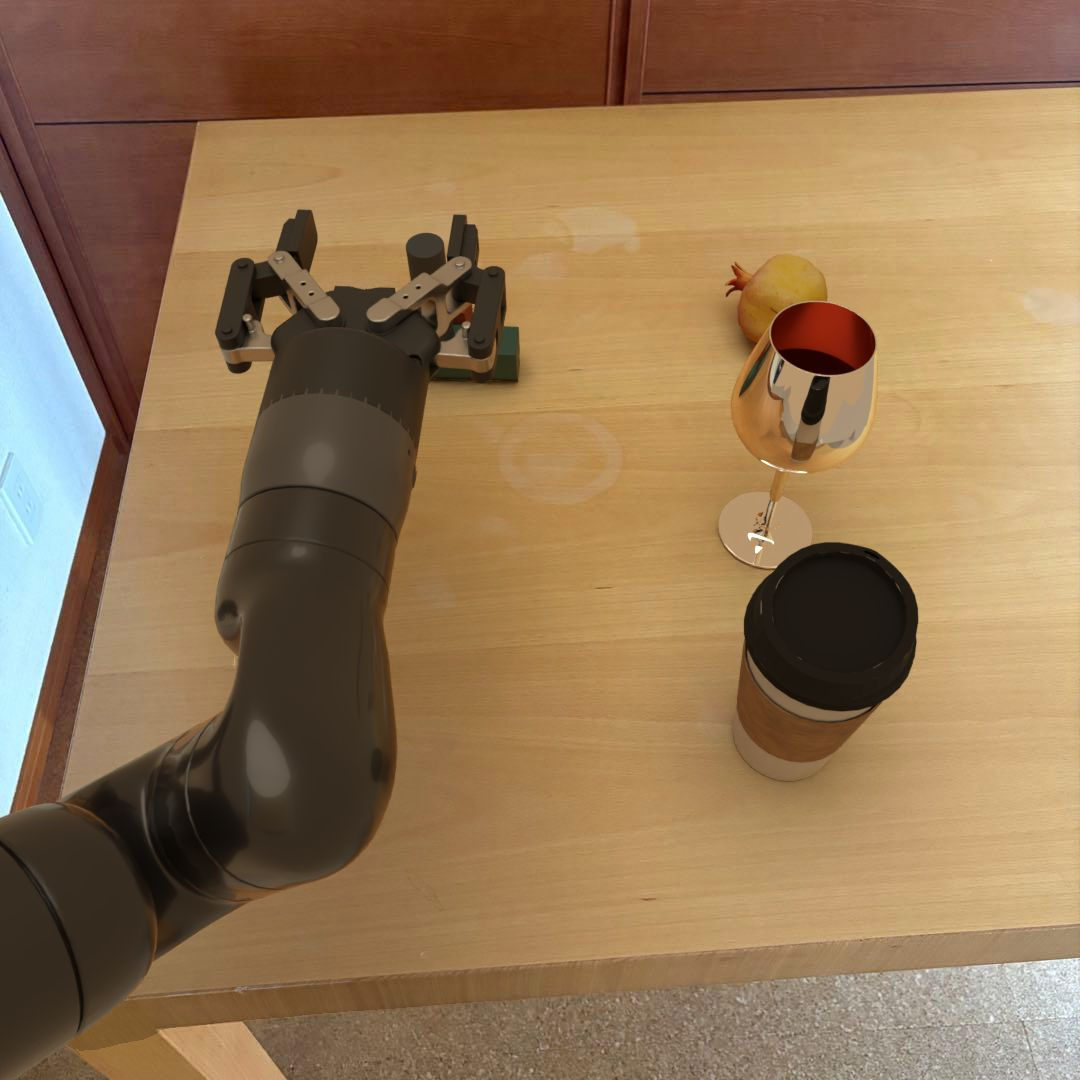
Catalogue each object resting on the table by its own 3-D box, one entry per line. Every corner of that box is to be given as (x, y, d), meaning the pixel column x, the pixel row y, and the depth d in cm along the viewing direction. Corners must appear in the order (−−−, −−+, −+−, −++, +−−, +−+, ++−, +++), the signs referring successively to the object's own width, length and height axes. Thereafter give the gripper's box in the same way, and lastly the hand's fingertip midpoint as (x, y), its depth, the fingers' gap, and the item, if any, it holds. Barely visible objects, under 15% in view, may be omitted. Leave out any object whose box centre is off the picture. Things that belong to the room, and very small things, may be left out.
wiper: (361, 382, 77) (332, 257, 67) (367, 353, 79) (340, 227, 69) (517, 387, 77) (511, 261, 67) (520, 358, 78) (515, 232, 69)
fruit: (877, 275, 75) (762, 219, 78) (837, 307, 71) (717, 246, 74) (842, 351, 80) (736, 296, 83) (804, 386, 75) (692, 325, 79)
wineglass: (691, 492, 71) (727, 296, 56) (802, 474, 72) (867, 276, 57) (724, 589, 66) (773, 404, 51) (843, 569, 67) (925, 381, 52)
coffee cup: (876, 716, 61) (958, 586, 49) (815, 831, 57) (887, 721, 45) (752, 648, 64) (799, 508, 51) (685, 752, 60) (720, 628, 48)
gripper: (483, 404, 43) (510, 169, 52) (157, 392, 44) (240, 161, 53) (491, 506, 50) (514, 280, 59) (206, 495, 50) (272, 273, 59)
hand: (384, 224), depth 56 cm, fingers open, 8 cm apart
